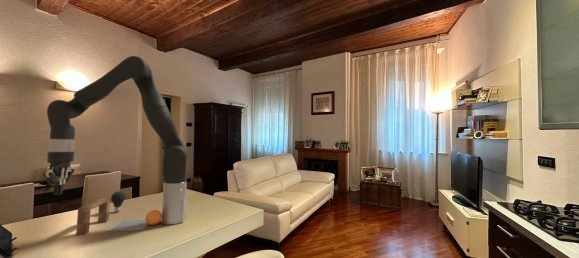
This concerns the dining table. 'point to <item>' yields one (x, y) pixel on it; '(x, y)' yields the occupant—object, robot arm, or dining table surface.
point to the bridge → (84, 215)
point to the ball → (153, 217)
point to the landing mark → (130, 225)
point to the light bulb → (118, 200)
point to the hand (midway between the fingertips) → (58, 194)
